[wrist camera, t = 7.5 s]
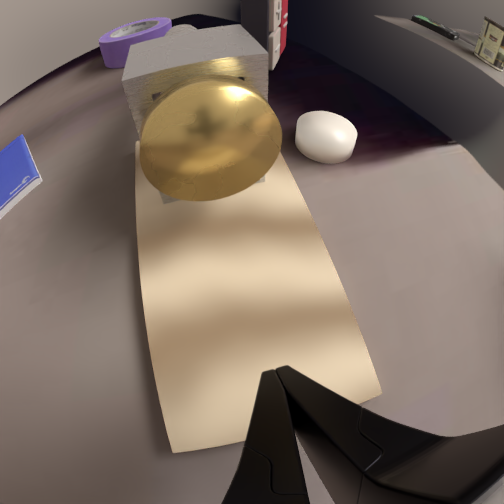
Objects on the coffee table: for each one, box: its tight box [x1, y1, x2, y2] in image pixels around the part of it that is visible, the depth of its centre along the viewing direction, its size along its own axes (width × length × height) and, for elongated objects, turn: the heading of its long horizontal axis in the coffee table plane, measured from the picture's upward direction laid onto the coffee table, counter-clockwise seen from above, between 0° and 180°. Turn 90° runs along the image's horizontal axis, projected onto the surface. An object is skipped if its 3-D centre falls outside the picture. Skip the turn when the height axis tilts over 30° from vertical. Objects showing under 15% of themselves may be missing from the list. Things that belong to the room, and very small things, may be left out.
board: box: [135, 141, 382, 453], centre depth 18 cm, size 23×11×1 cm, turn 15°
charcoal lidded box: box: [241, 0, 288, 72], centre depth 26 cm, size 11×4×15 cm, turn 166°
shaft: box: [139, 25, 282, 201], centre depth 17 cm, size 18×7×7 cm, turn 15°
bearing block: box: [122, 24, 269, 204], centre depth 17 cm, size 6×7×9 cm
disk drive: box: [411, 15, 460, 40], centre depth 57 cm, size 10×3×15 cm
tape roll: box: [99, 17, 172, 68], centre depth 35 cm, size 12×12×5 cm
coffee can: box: [474, 17, 504, 71], centre depth 43 cm, size 10×10×14 cm
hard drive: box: [0, 135, 42, 219], centre depth 23 cm, size 2×8×12 cm
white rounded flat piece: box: [295, 111, 357, 164], centre depth 23 cm, size 5×5×2 cm
